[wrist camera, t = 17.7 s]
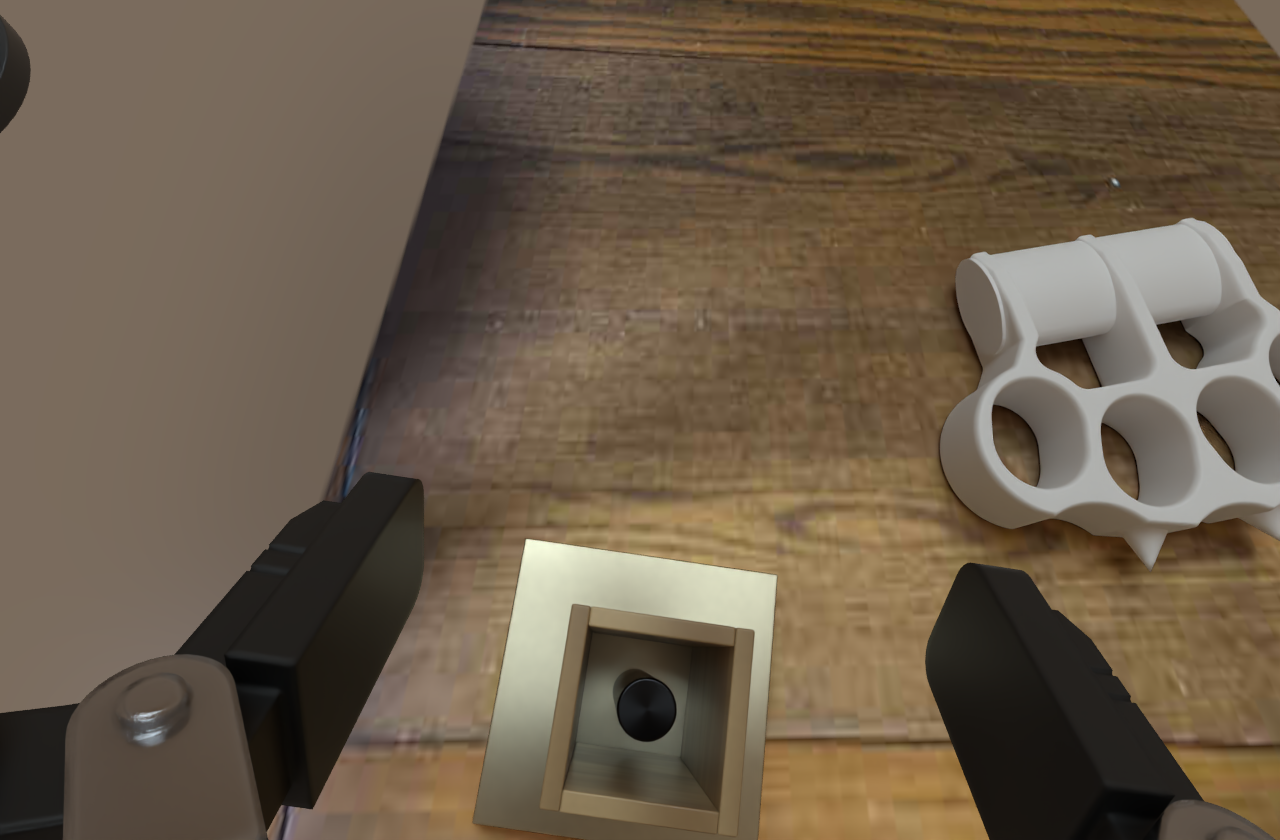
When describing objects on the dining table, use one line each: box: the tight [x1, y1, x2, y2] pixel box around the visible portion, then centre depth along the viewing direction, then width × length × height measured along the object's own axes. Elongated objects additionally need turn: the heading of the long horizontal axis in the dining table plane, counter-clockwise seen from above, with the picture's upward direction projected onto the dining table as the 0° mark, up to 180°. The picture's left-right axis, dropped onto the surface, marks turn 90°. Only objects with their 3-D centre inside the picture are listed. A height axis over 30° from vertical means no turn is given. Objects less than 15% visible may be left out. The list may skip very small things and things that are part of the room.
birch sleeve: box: [539, 604, 755, 837], centre depth 22 cm, size 5×5×9 cm
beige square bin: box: [473, 538, 778, 840], centre depth 23 cm, size 10×10×9 cm
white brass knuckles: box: [940, 218, 1280, 572], centre depth 30 cm, size 3×18×15 cm
